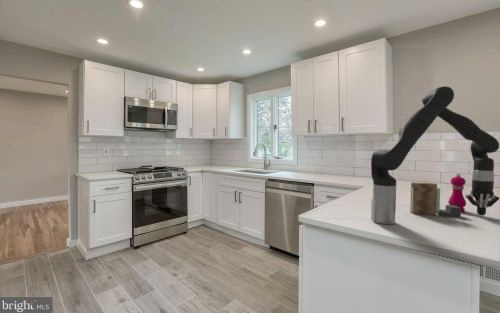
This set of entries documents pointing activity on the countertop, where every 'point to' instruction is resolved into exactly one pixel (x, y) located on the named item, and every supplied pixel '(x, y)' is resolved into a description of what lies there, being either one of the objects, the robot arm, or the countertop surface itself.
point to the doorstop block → (450, 211)
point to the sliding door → (436, 201)
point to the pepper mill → (457, 192)
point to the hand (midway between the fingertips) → (481, 214)
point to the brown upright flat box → (424, 198)
